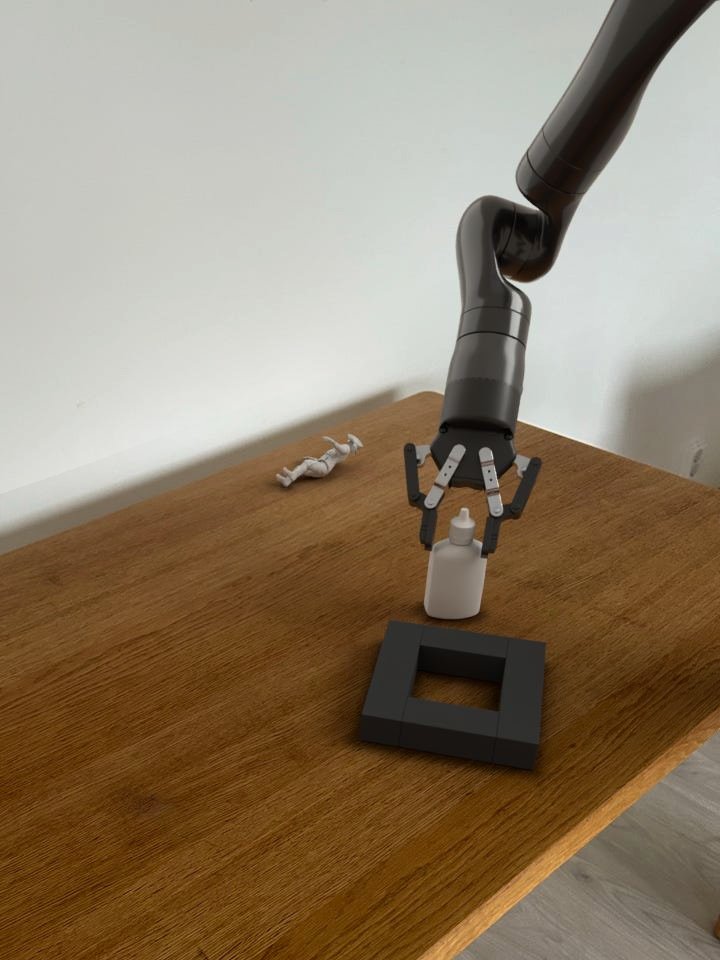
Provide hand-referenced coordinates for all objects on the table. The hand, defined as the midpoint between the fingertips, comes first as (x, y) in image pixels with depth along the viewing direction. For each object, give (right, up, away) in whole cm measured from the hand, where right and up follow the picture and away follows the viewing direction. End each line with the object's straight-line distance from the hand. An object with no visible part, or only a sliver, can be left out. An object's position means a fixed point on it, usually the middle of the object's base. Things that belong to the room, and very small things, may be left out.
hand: (456, 552), depth 100 cm
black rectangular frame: (-1, -14, -6) cm, 16 cm away
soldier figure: (-11, +13, +32) cm, 36 cm away
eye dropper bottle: (+1, -6, +6) cm, 9 cm away
